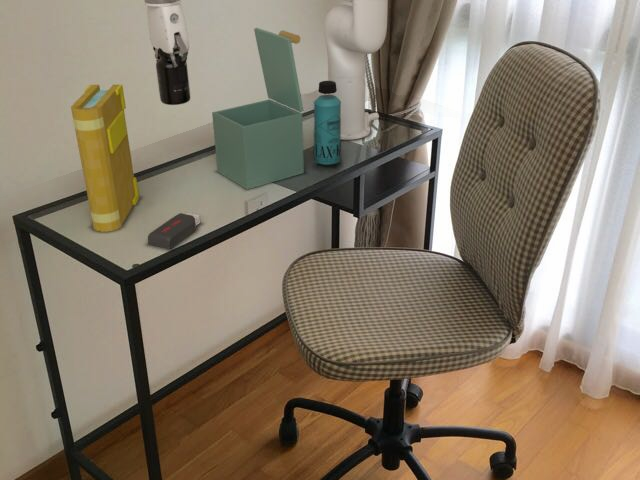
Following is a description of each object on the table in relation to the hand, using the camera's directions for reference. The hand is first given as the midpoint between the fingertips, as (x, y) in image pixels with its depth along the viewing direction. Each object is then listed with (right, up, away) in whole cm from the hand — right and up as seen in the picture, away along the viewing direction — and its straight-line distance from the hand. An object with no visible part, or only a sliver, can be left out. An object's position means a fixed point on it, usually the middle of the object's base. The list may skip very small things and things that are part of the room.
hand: (173, 79), depth 175 cm
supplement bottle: (0, -4, +3) cm, 5 cm away
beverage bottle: (+35, -17, +13) cm, 41 cm away
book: (-11, -31, -8) cm, 34 cm away
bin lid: (+23, +2, +1) cm, 23 cm away
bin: (+19, -19, +10) cm, 28 cm away
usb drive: (+4, -37, -17) cm, 40 cm away
